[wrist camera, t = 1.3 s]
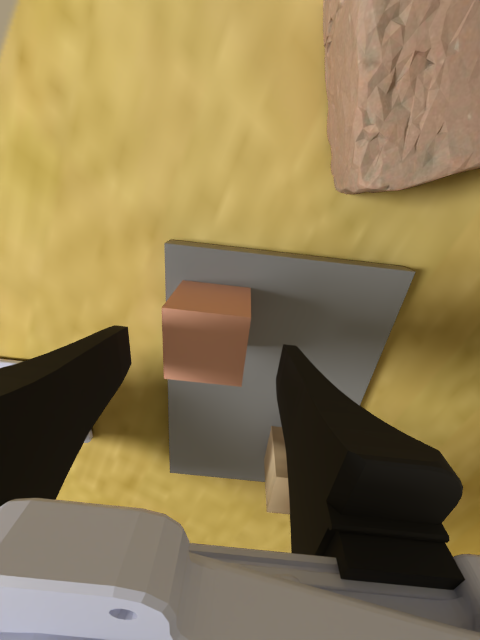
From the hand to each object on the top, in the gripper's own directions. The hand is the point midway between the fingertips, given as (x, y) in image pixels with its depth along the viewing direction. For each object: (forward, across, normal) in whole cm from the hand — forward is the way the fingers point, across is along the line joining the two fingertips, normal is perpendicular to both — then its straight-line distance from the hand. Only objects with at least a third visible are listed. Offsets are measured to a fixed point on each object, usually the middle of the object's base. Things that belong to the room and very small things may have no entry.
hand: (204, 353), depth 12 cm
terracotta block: (+4, 0, 0) cm, 4 cm away
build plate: (+6, -4, +6) cm, 9 cm away
